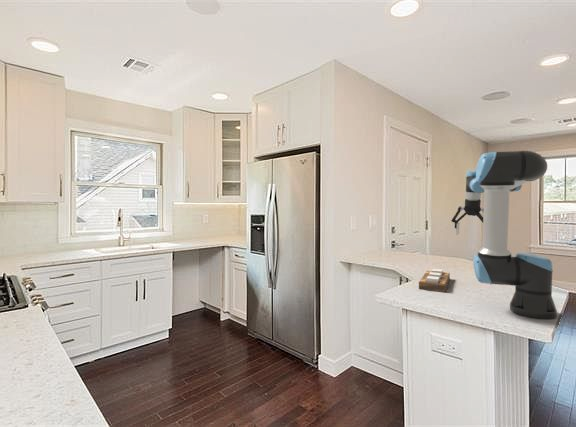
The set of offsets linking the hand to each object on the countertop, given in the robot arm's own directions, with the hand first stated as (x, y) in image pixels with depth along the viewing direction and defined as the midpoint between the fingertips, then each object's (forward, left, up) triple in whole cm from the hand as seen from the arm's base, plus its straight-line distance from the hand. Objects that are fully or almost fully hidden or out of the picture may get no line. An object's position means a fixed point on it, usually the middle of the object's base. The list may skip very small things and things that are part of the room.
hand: (470, 235), depth 182 cm
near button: (-30, +16, -22) cm, 41 cm away
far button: (-10, +16, -22) cm, 29 cm away
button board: (-20, +16, -25) cm, 36 cm away
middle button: (-20, +16, -22) cm, 34 cm away
